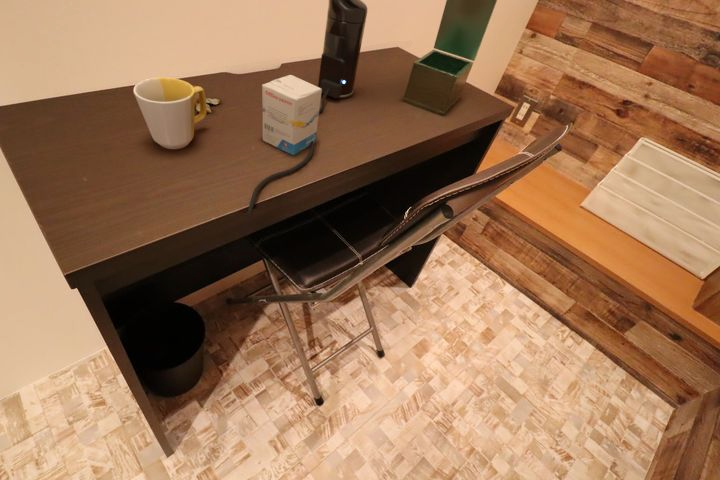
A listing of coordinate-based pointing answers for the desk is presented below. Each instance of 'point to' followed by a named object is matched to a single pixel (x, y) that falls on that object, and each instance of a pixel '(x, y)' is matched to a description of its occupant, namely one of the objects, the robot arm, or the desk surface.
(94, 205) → the desk surface
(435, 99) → the bin
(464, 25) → the lid
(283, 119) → the ink box
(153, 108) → the mug
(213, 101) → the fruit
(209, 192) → the desk surface
